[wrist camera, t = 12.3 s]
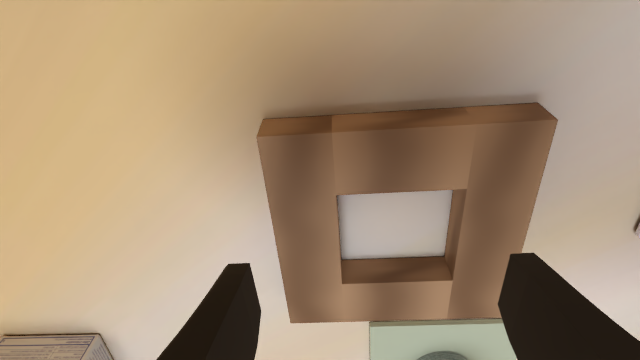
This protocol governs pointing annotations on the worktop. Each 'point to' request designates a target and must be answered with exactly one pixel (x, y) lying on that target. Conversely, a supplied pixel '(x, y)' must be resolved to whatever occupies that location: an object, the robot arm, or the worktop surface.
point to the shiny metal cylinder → (442, 356)
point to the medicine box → (54, 347)
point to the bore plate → (403, 176)
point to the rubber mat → (440, 339)
